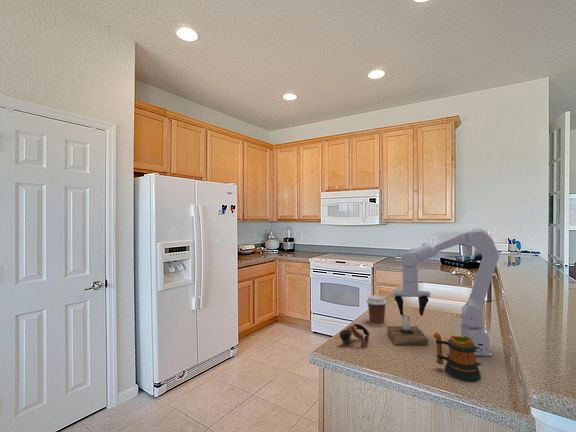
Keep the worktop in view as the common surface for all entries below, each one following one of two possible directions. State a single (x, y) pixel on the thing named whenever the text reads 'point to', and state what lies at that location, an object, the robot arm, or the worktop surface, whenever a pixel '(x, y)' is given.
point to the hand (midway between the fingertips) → (411, 314)
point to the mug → (459, 358)
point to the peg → (405, 324)
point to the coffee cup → (376, 309)
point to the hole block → (407, 336)
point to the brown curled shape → (355, 334)
